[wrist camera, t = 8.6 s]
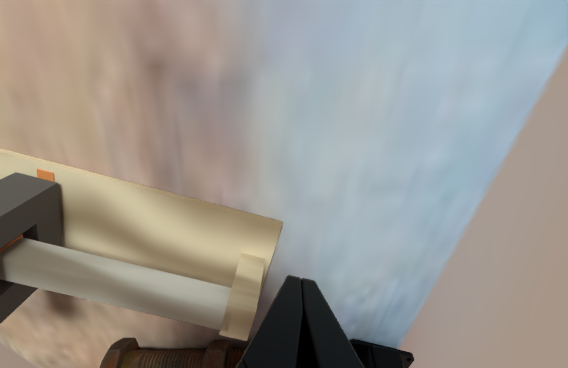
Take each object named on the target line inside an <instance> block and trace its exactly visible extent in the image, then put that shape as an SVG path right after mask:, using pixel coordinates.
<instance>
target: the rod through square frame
mask: <svg viewBox="0 0 568 368" xmlns="http://www.w3.org/2000/svg"><path fill="white" fill-rule="evenodd" d="M15 172H17V173H21V174H25V175H29V176H33V177H37V178H41V179H45V180H49V181H53V182H57V183H58V195H59V209H60V222H61V235H62V247H60V246H56V245H51V244H47V243H43V242H39V241H35V240H31V239H27V238H23V234H21V235H19V236H18V237H16V238H15V239H13V240H12V241H11V242H9V243H8V244H6V245H5V246H3V247H2V248H0V280H6V281H10V282H14V283H19V284H23V285H27V286H31V287H36V288H40V289H44V290H49V291H53V292H57V293H62V294H66V295H70V296H75V297H79V298H83V299H88V300H92V301H96V302H101V303H105V304H109V305H114V306H118V307H122V308H126V309H131V310H135V311H139V312H144V313H148V314H152V315H157V316H161V317H165V318H170V319H174V320H178V321H183V322H187V323H191V324H196V325H200V326H204V327H209V328H213V329H217V330H220V333H219V335H222V336H226V337H230V338H235V339H239V340H243V341H247V339H248V336H249V333H250V330H251V327H252V324H253V321H254V318H255V315H256V311H257V305H258V299H259V296H260V293H261V290H262V287H263V284H264V281H265V278H266V275H267V271H268V268H269V265H270V262H271V259H272V256H273V253H274V250H275V247H276V244H277V240H278V237H279V234H280V231H281V228H282V223H283V222H282V221H278V220H274V219H270V218H267V217H263V216H259V215H255V214H251V213H247V212H243V211H240V210H236V209H232V208H228V207H224V206H220V205H216V204H213V203H209V202H205V201H201V200H197V199H193V198H190V197H186V196H182V195H178V194H174V193H170V192H166V191H163V190H159V189H155V188H151V187H147V186H143V185H139V184H136V183H132V182H128V181H124V180H120V179H116V178H113V177H109V176H105V175H101V174H97V173H93V172H89V171H86V170H82V169H78V168H74V167H70V166H66V165H62V164H59V163H55V162H51V161H47V160H43V159H39V158H35V157H32V156H28V155H24V154H20V153H16V152H12V151H9V150H5V149H1V148H0V179H2V178H4V177H7V176H9V175H11V174H13V173H15Z"/></svg>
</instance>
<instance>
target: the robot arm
mask: <svg viewBox="0 0 568 368" xmlns="http://www.w3.org/2000/svg"><path fill="white" fill-rule="evenodd" d="M413 361H414V357H413V354H412V353H410V352H406V351H401V350H397V349H393V348H389V347H385V346H380V345H376V344H372V343H368V342H363V341H359V340H351V341H350V342H349V340H348V338H347V336H346V335H345V333H344V331H343V329H342V328H341V326H340V324H339V322H338V321H337V319H336V317H335V316H334V314H333V312H332V310H331V309H330V307H329V305H328V303H327V302H326V300H325V298H324V296H323V295H322V293H321V291H320V289H319V288H318V286H317V284H316V282H315V281H314V280H310V279H305V278H302V279H300V278H299V277H296V276H291V275H288V276H287V277H286V279H285V281H284V283H283V285H282V286H281V288H280V290H279V292H278V293H277V295H276V297H275V299H274V301H273V302H272V304H271V306H270V308H269V310H268V311H267V313H266V315H265V317H264V318H263V320H262V322H261V324H260V326H259V327H258V329H257V331H256V333H255V335H254V336H253V338H252V340H251V342H250V343H249V345H248V347H247V349H246V351H245V352H244V354H243V356H242V358H241V360H240V362H239V363H238V365H237V366H236V368H408V367H409V366H410V365H411V364H412V362H413Z"/></svg>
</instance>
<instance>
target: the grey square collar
mask: <svg viewBox="0 0 568 368" xmlns="http://www.w3.org/2000/svg"><path fill="white" fill-rule="evenodd" d="M21 234H23V238H27V239H31V240H35V241H39V242H43V243H47V244H51V245H56V246H60V247H62V235H61V222H60V209H59V195H58V183H57V182H53V181H49V180H45V179H41V178H37V177H33V176H29V175H25V174H21V173H17V172H15V173H13V174H11V175H9V176H7V177H4V178H2V179H0V248H2V247H3V246H5V245H6V244H8V243H9V242H11V241H12V240H13V239H15V238H16V237H18V236H19V235H21ZM36 289H38V288H36V287H31V286H27V285H23V284H19V283H14V282H10V281H6V280H0V323H2V322H3V321H4V320H5V319H6V318H7V317H8V316H9V315H10V314H11V313H12V312H13V311H14V310H15V309H16V308H17V307H18V306H20V305H21V304H22V303H23V302H24V301H25V300H26V299H27V298H28V297H29V296H30V295H31V294H32V293H33V292H34V291H35V290H36Z"/></svg>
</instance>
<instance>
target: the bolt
mask: <svg viewBox="0 0 568 368" xmlns="http://www.w3.org/2000/svg"><path fill="white" fill-rule="evenodd" d="M245 351H246V349H245V348H244V349H242V348H240V350H239V349H238V348H237V349H235V348H234V349H233V350H232V346H231V342H229V341H228V340H227V339H225V340H214V341H212V342H211V343H210V344H209V345H208V347H207V350H206V349H203V350H202V349H200V350H199V349H197V350H196V349H193V350H192V349H190V350H189V349H187V350H186V349H184V350H182V349H181V350H149V349H141V350H140V348H139V345H138V343H137V341H136V338H123V339H120V340H119V341H117V342H115V343H114V344H113V345H111V347H110V348H109V350H108V351H107V353H106V355H105V357H104V359H103V360H102V362H101V365H100V368H236V366H237V365H238V363H239V362H240V360H241V358H242V356H243V354H244V352H245Z"/></svg>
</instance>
